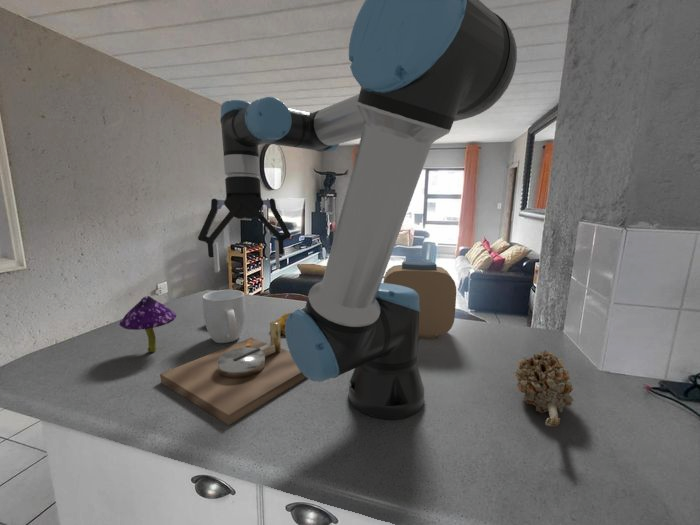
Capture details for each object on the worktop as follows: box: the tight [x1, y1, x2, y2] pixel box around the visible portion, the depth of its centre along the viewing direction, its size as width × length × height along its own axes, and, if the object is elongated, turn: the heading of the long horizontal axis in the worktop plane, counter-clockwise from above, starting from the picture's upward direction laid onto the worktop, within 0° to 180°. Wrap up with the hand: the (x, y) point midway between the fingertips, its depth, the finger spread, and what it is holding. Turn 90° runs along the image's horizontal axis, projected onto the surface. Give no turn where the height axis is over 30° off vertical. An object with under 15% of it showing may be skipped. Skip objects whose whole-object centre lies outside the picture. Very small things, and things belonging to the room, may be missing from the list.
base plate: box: [159, 337, 307, 426], centre depth 74 cm, size 24×24×2 cm
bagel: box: [275, 312, 292, 336], centre depth 101 cm, size 10×11×5 cm
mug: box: [202, 289, 246, 344], centre depth 92 cm, size 15×11×13 cm
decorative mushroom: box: [119, 295, 177, 353], centre depth 84 cm, size 12×12×15 cm
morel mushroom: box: [514, 350, 575, 427], centre depth 61 cm, size 22×10×10 cm, turn 161°
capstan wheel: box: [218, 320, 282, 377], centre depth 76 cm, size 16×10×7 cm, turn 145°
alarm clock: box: [382, 261, 457, 339], centre depth 99 cm, size 21×10×22 cm, turn 82°
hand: (248, 269), depth 78 cm, fingers open, 13 cm apart
